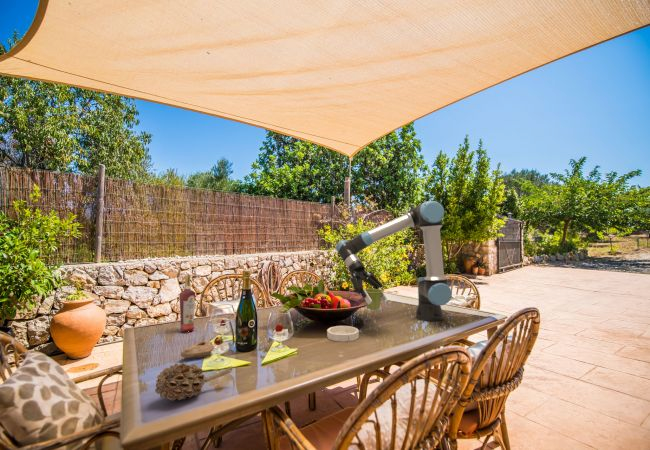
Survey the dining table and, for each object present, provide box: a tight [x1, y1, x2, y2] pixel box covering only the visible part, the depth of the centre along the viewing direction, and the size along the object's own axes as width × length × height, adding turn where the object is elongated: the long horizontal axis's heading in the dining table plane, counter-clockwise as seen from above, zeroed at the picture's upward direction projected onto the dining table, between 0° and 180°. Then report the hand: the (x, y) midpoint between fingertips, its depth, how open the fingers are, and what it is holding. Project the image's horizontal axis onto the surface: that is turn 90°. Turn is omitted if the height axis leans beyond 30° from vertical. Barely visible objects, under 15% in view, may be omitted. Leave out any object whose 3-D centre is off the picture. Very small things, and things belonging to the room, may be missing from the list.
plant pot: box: [364, 288, 384, 311], centre depth 151 cm, size 9×9×9 cm
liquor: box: [179, 274, 196, 333], centre depth 158 cm, size 7×7×28 cm
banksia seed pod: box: [154, 362, 235, 402], centre depth 93 cm, size 22×10×10 cm, turn 128°
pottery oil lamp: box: [180, 340, 215, 359], centre depth 123 cm, size 9×12×7 cm
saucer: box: [326, 325, 360, 343], centre depth 146 cm, size 14×14×3 cm
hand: (377, 301), depth 149 cm, fingers closed on plant pot, 9 cm apart
